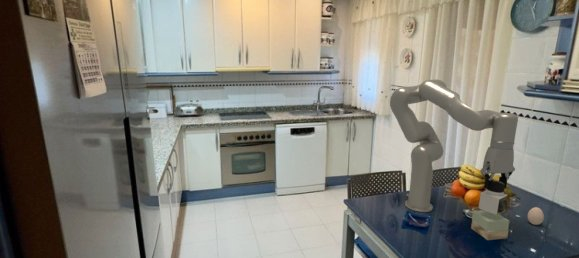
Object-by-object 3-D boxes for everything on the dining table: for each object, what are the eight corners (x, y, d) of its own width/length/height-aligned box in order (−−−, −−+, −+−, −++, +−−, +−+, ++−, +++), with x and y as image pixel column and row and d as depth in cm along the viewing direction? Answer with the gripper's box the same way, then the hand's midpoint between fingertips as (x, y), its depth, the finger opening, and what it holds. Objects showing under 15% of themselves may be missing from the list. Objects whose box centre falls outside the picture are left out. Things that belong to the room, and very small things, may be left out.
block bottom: (471, 229, 132) (472, 220, 131) (489, 227, 134) (490, 218, 133) (487, 240, 124) (489, 231, 123) (507, 238, 125) (508, 229, 124)
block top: (471, 219, 132) (473, 211, 131) (491, 218, 133) (493, 210, 132) (486, 230, 123) (488, 221, 123) (507, 229, 124) (509, 220, 123)
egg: (537, 228, 132) (541, 211, 131) (523, 222, 137) (526, 206, 136) (544, 225, 135) (548, 209, 133) (530, 220, 140) (533, 203, 138)
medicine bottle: (497, 215, 122) (501, 186, 119) (478, 208, 127) (482, 181, 125) (505, 210, 125) (510, 183, 123) (486, 204, 131) (490, 177, 129)
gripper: (511, 141, 126) (504, 182, 130) (475, 143, 123) (469, 186, 126) (529, 146, 119) (521, 190, 123) (491, 148, 115) (484, 193, 119)
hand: (495, 187), depth 125 cm, fingers closed on medicine bottle, 6 cm apart
